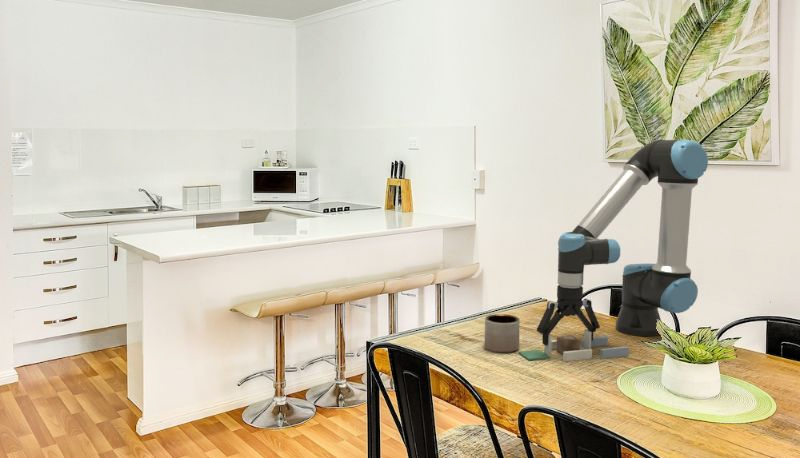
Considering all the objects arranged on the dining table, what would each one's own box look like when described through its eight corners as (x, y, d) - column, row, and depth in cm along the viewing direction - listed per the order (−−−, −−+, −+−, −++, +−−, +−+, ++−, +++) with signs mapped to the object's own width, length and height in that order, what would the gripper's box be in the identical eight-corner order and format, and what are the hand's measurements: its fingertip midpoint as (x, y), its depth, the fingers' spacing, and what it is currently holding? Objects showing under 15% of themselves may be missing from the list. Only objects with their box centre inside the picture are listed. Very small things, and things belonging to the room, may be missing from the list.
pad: (538, 351, 203) (538, 349, 203) (550, 358, 196) (550, 356, 196) (518, 353, 201) (518, 351, 201) (528, 360, 194) (528, 358, 194)
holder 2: (605, 344, 210) (606, 336, 210) (628, 355, 199) (628, 347, 198) (580, 346, 207) (581, 338, 207) (602, 358, 196) (602, 350, 196)
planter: (518, 354, 200) (519, 324, 199) (483, 352, 202) (483, 322, 201) (519, 343, 211) (520, 314, 209) (485, 341, 213) (486, 313, 211)
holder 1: (570, 346, 208) (571, 338, 207) (591, 358, 196) (592, 350, 196) (545, 349, 205) (545, 341, 205) (564, 361, 194) (565, 352, 193)
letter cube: (570, 350, 204) (571, 334, 203) (579, 355, 199) (580, 339, 198) (556, 352, 202) (557, 336, 202) (564, 357, 198) (565, 341, 197)
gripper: (599, 280, 205) (596, 345, 208) (526, 285, 198) (524, 352, 201) (613, 285, 198) (610, 353, 200) (538, 290, 191) (536, 360, 194)
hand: (567, 353), depth 201 cm, fingers open, 13 cm apart
